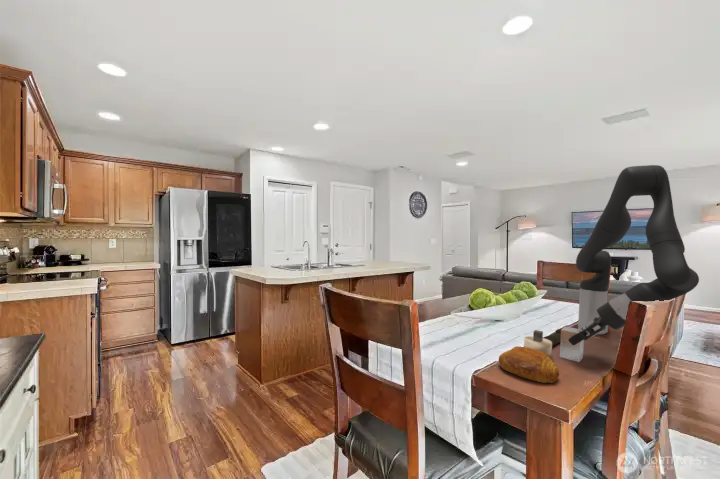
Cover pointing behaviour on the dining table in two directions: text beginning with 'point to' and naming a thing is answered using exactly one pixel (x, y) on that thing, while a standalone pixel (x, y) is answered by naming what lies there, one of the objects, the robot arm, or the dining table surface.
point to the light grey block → (570, 345)
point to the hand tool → (555, 337)
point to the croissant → (529, 364)
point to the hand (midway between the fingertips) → (573, 339)
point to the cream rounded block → (538, 343)
